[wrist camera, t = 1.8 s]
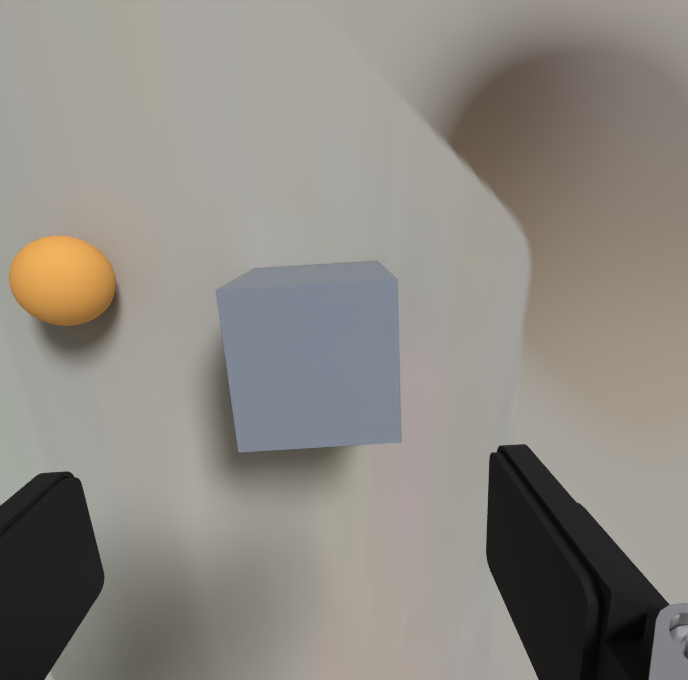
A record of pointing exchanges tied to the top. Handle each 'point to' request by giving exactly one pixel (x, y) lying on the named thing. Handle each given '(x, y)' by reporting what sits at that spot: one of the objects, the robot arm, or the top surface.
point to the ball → (62, 280)
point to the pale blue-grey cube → (312, 356)
